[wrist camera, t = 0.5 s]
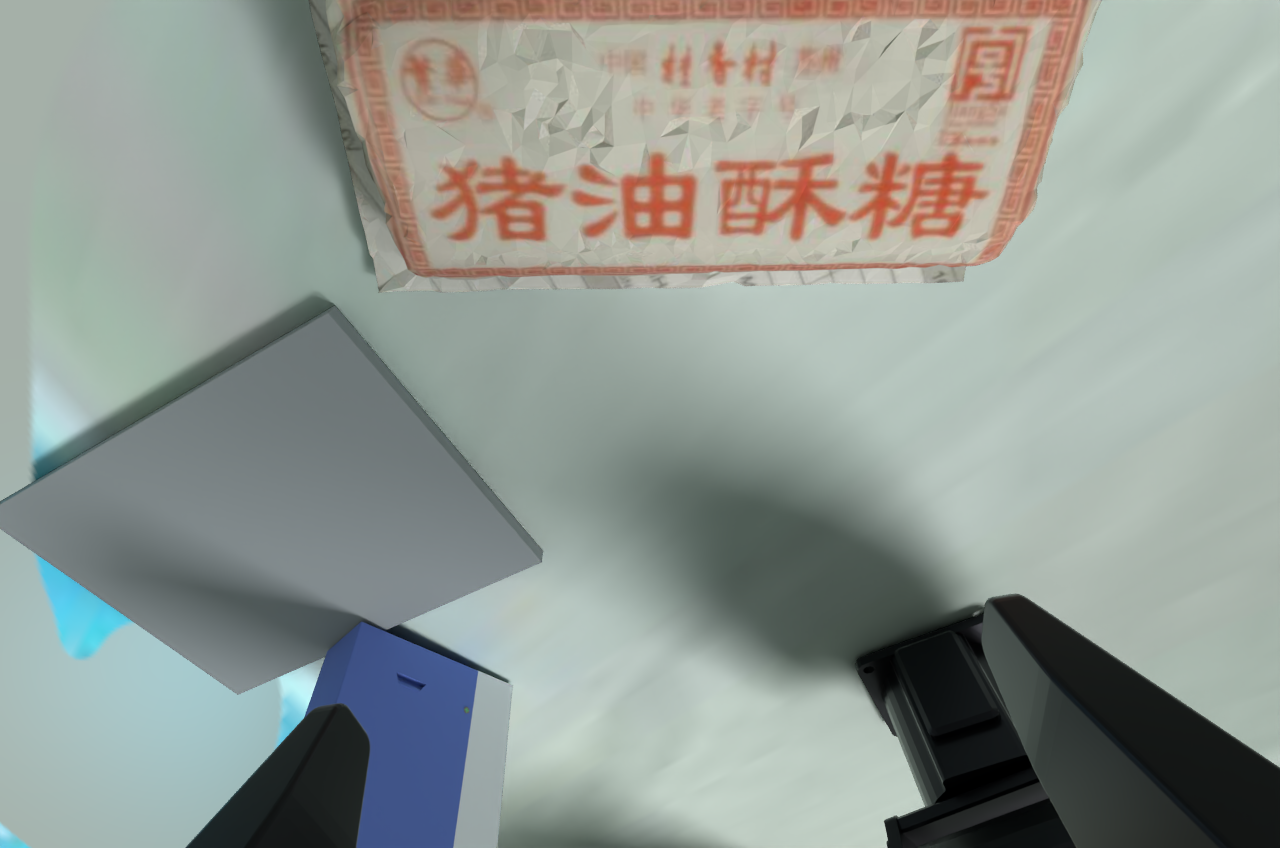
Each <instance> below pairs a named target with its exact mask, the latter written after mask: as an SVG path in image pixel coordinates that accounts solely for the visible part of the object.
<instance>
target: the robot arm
mask: <svg viewBox="0 0 1280 848" xmlns="http://www.w3.org/2000/svg"><path fill="white" fill-rule="evenodd" d="M855 665H856V669H857V671H858V674H859V676H860V677H861V679H862V681H863V683H864V684H865V686H866V688H867V690H868V692H869V693H870V695H871V697H872V699H873V700H874V702H875V704H876V706H877V708H878V709H879V711H880V713H881V715H882V716H883V718H884V720H885V722H886V724H887V725H888V727H889V729H890V731H891V732H892V734H893V735H894V736H897V737H898V739H899V741H900V744H901V747H902V749H903V752H904V754H905V757H906V759H907V762H908V764H909V767H910V769H911V772H912V774H913V777H914V779H915V782H916V785H917V787H918V790H919V792H920V795H921V797H922V800H923V802H924V805H925V807H924V808H921V809H919V810H916V811H913V812H911V813H908V814H906V815H903V816H900V817H898V816H893V817H891V818H888V819H886V820H884V823H885V827H886V832H887V837H888V841H887V847H888V848H1280V767H1278V766H1277V765H1275V764H1274V763H1272V762H1271V761H1269V760H1268V759H1266V758H1265V757H1263V756H1262V755H1260V754H1259V753H1257V752H1256V751H1254V750H1253V749H1251V748H1250V747H1248V746H1247V745H1245V744H1244V743H1242V742H1241V741H1239V740H1238V739H1236V738H1235V737H1233V736H1232V735H1230V734H1229V733H1227V732H1226V731H1224V730H1223V729H1221V728H1220V727H1218V726H1217V725H1215V724H1214V723H1212V722H1211V721H1209V720H1208V719H1206V718H1205V717H1203V716H1202V715H1201V714H1199V713H1198V712H1196V711H1195V710H1193V709H1192V708H1190V707H1189V706H1187V705H1186V704H1184V703H1183V702H1181V701H1180V700H1178V699H1177V698H1175V697H1174V696H1172V695H1171V694H1169V693H1168V692H1166V691H1165V690H1163V689H1162V688H1160V687H1159V686H1157V685H1156V684H1154V683H1153V682H1151V681H1150V680H1148V679H1147V678H1145V677H1144V676H1142V675H1141V674H1139V673H1138V672H1136V671H1135V670H1133V669H1132V668H1130V667H1129V666H1127V665H1126V664H1125V663H1123V662H1122V661H1120V660H1119V659H1117V658H1116V657H1114V656H1113V655H1111V654H1110V653H1108V652H1107V651H1105V650H1104V649H1102V648H1101V647H1099V646H1098V645H1096V644H1095V643H1093V642H1092V641H1090V640H1089V639H1087V638H1086V637H1084V636H1083V635H1081V634H1080V633H1078V632H1077V631H1075V630H1074V629H1072V628H1071V627H1069V626H1068V625H1066V624H1065V623H1063V622H1062V621H1060V620H1059V619H1057V618H1056V617H1054V616H1053V615H1051V614H1050V613H1048V612H1047V611H1046V610H1044V609H1043V608H1041V607H1040V606H1038V605H1037V604H1035V603H1034V602H1032V601H1031V600H1029V599H1028V598H1026V597H1024V596H1022V595H1019V594H1009V595H1002V596H996V597H991V598H989V599H988V600H987V601H986V603H985V607H984V614H981V615H979V616H976V617H973V618H970V619H967V620H964V621H962V622H959V623H956V624H953V625H950V626H948V627H945V628H942V629H939V630H936V631H933V632H931V633H928V634H925V635H922V636H919V637H917V638H914V639H911V640H908V641H905V642H902V643H900V644H897V645H894V646H891V647H888V648H885V649H883V650H880V651H877V652H874V653H871V654H869V655H866V656H863V657H861V658H859V659H858V660H857V661H856V663H855ZM369 758H370V740H369V737H368V735H367V733H366V731H365V730H364V728H363V727H362V726H361V724H360V723H359V721H358V720H357V718H356V717H355V716H354V714H353V713H352V711H351V710H350V709H349V707H348V706H347V705H345V704H343V703H337V704H330V705H324V706H319V707H317V708H315V709H313V710H312V711H311V712H310V713H308V714H307V716H306V717H305V718H304V719H303V720H302V721H301V722H300V723H299V724H298V725H297V726H296V728H295V729H294V730H293V731H292V732H291V733H290V734H289V735H288V736H287V737H286V738H285V740H284V741H283V742H282V743H281V744H280V745H279V746H278V747H277V748H276V749H275V750H274V752H273V753H272V754H271V755H270V756H269V757H268V758H267V759H266V760H265V761H264V762H263V764H262V765H261V766H260V767H259V768H258V769H257V770H256V771H255V772H254V773H253V775H252V776H251V777H250V778H249V779H248V780H247V781H246V782H245V783H244V784H243V785H242V786H241V788H240V789H239V790H238V791H237V792H236V793H235V794H234V795H233V796H232V797H231V799H230V800H229V801H228V802H227V803H226V804H225V805H224V806H223V807H222V809H220V811H219V812H218V813H217V814H216V815H215V816H214V817H213V818H212V819H211V820H210V821H209V823H208V824H207V825H206V826H205V827H204V828H203V829H202V830H201V831H200V832H199V834H197V836H196V837H195V838H194V839H193V840H192V841H191V842H190V843H189V844H188V845H187V847H186V848H356V847H357V840H358V834H359V827H360V820H361V813H362V806H363V799H364V792H365V785H366V778H367V771H368V764H369Z"/></svg>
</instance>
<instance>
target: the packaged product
mask: <svg viewBox="0 0 1280 848" xmlns="http://www.w3.org/2000/svg"><path fill="white" fill-rule="evenodd" d="M1101 1H1102V0H309V4H310V9H311V15H312V19H313V23H314V27H315V31H316V35H317V39H318V43H319V46H320V50H321V54H322V58H323V62H324V65H325V69H326V73H327V76H328V80H329V84H330V87H331V91H332V94H333V98H334V102H335V105H336V109H337V113H338V118H339V123H340V128H341V133H342V138H343V143H344V147H345V151H346V154H347V158H348V163H349V167H350V172H351V177H352V182H353V186H354V191H355V195H356V200H357V204H358V208H359V212H360V217H361V220H362V224H363V228H364V232H365V236H366V241H367V245H368V250H369V254H370V255H371V257H372V258H373V261H374V267H375V272H376V278H377V283H378V288H379V292H378V293H382V292H394V291H437V292H469V291H488V290H496V289H622V288H699V287H707V286H713V285H718V284H724V283H729V282H736V283H739V284H741V285H744V286H761V285H814V284H826V283H841V284H890V283H942V282H960V281H964V274H965V270H966V266H976V265H980V264H983V263H986V262H989V261H991V260H993V259H995V258H997V257H998V256H999V255H1000V254H1001V252H1002V251H1003V250H1004V248H1005V247H1006V246H1007V244H1008V243H1009V241H1010V240H1011V238H1012V236H1013V234H1014V232H1015V231H1016V229H1017V227H1018V226H1019V225H1020V224H1021V223H1022V222H1023V221H1024V220H1025V219H1026V218H1027V217H1028V215H1029V214H1030V213H1031V212H1032V211H1033V210H1034V207H1035V204H1036V200H1037V186H1038V184H1039V183H1040V182H1041V181H1042V175H1043V169H1044V164H1045V162H1046V158H1047V154H1048V150H1049V147H1050V144H1051V142H1052V136H1053V132H1054V129H1055V125H1056V122H1057V119H1058V116H1059V115H1060V113H1061V112H1062V111H1063V110H1064V108H1065V107H1066V106H1067V105H1068V103H1069V99H1070V96H1071V92H1072V89H1073V85H1074V82H1075V79H1076V77H1077V75H1078V73H1079V71H1080V69H1081V67H1082V65H1083V49H1084V46H1085V43H1086V40H1087V37H1088V35H1089V32H1090V29H1091V26H1092V23H1093V21H1094V18H1095V15H1096V12H1097V10H1098V8H1099V6H1100V3H1101Z"/></svg>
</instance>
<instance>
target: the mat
mask: <svg viewBox="0 0 1280 848" xmlns="http://www.w3.org/2000/svg"><path fill="white" fill-rule="evenodd" d="M0 529H1V530H3V531H4V532H6V533H7V534H8V535H10V536H11V537H13V538H14V539H16V540H17V541H18V542H20V543H21V544H23V545H24V546H26V547H27V548H28V549H30V550H31V551H33V552H34V553H36V554H37V555H38V556H40V557H41V558H43V559H44V560H46V561H47V562H48V563H50V564H51V565H53V566H54V567H56V568H57V569H58V570H60V571H61V572H63V573H64V574H66V575H67V576H69V577H70V578H71V579H73V580H74V581H76V582H77V583H79V584H80V585H81V586H83V587H84V588H86V589H87V590H89V591H90V592H91V593H93V594H94V595H96V596H97V597H99V598H100V599H101V600H103V601H104V602H106V603H107V604H109V605H110V606H111V607H113V608H114V609H116V610H117V611H119V612H120V613H121V614H123V615H124V616H126V617H127V618H129V619H130V620H132V621H133V622H134V623H136V624H137V625H139V626H140V627H142V628H143V629H145V630H146V631H147V632H149V633H150V634H152V635H153V636H154V637H156V638H157V639H159V640H160V641H162V642H163V643H164V644H166V645H167V646H169V647H170V648H172V649H173V650H175V651H176V652H178V653H179V654H180V655H182V656H183V657H184V658H186V659H187V660H189V661H190V662H192V663H193V664H195V665H196V666H197V667H199V668H200V669H202V670H203V671H205V672H206V673H207V674H209V675H210V676H212V677H213V678H215V679H216V680H217V681H219V682H220V683H222V684H223V685H225V686H226V687H228V688H229V689H230V690H232V691H233V692H235V693H237V695H238V694H241V693H243V692H245V691H248V690H250V689H252V688H254V687H257V686H259V685H261V684H263V683H266V682H268V681H270V680H273V679H275V678H277V677H280V676H282V675H284V674H287V673H289V672H291V671H293V670H296V669H298V668H300V667H303V666H305V665H307V664H309V663H312V662H314V661H316V660H319V659H321V658H323V657H326V654H327V651H328V650H329V649H331V648H332V647H333V646H334V645H335V644H336V643H337V642H339V641H340V640H341V639H342V638H343V637H344V636H345V635H347V634H348V633H349V632H350V631H351V630H352V629H353V628H355V627H356V626H357V625H358V624H359V623H360V622H364V623H366V624H369V625H371V626H373V627H376V628H378V629H380V630H383V631H385V630H387V629H390V628H392V627H394V626H397V625H399V624H401V623H403V622H406V621H408V620H410V619H413V618H415V617H417V616H419V615H422V614H424V613H426V612H429V611H431V610H433V609H435V608H438V607H440V606H442V605H445V604H447V603H449V602H451V601H454V600H456V599H458V598H461V597H463V596H465V595H468V594H470V593H472V592H474V591H477V590H479V589H481V588H484V587H486V586H488V585H490V584H493V583H495V582H497V581H500V580H502V579H504V578H506V577H509V576H511V575H513V574H516V573H518V572H520V571H522V570H525V569H527V568H529V567H532V566H534V565H536V564H538V563H541V562H542V555H543V551H542V550H541V549H540V547H539V546H538V545H537V544H536V543H535V541H534V540H533V539H532V538H531V537H530V536H529V534H528V533H527V532H526V531H525V530H524V528H523V527H522V526H521V525H520V524H519V523H518V521H517V520H516V519H515V518H514V517H513V515H512V514H511V513H510V512H509V511H508V510H507V508H506V507H505V506H504V505H503V504H502V502H501V501H500V500H499V499H498V498H497V496H496V495H495V494H494V493H493V492H492V491H491V489H490V488H489V487H488V486H487V485H486V483H485V482H484V481H483V480H482V479H481V478H480V476H479V475H478V474H477V473H476V472H475V470H474V469H473V468H472V467H471V466H470V465H469V463H468V462H467V461H466V460H465V459H464V457H463V456H462V455H461V454H460V453H459V452H458V450H457V449H456V448H455V447H454V446H453V444H452V443H451V442H450V441H449V440H448V439H447V437H446V436H445V435H444V434H443V433H442V431H441V430H440V429H439V428H438V427H437V426H436V424H435V423H434V422H433V421H432V420H431V418H430V417H429V416H428V415H427V414H426V413H425V411H424V410H423V409H422V408H421V407H420V405H419V404H418V403H417V402H416V401H415V400H414V398H413V397H412V396H411V395H410V394H409V392H408V391H407V390H406V389H405V388H404V387H403V385H402V384H401V383H400V382H399V381H398V379H397V378H396V377H395V376H394V375H393V374H392V372H391V371H390V370H389V369H388V368H387V366H386V365H385V364H384V363H383V362H382V360H381V359H380V358H379V357H378V356H377V355H376V353H375V352H374V351H373V350H372V349H371V347H370V346H369V345H368V344H367V343H366V342H365V340H364V339H363V338H362V337H361V336H360V334H359V333H358V332H357V331H356V330H355V329H354V327H353V326H352V325H351V324H350V323H349V321H348V320H347V319H346V318H345V317H344V316H343V314H342V313H341V312H340V311H339V310H338V308H337V307H336V306H333V307H331V308H330V309H328V310H326V311H325V312H323V313H321V314H319V315H318V316H316V317H314V318H313V319H311V320H309V321H307V322H306V323H304V324H302V325H301V326H299V327H297V328H295V329H294V330H292V331H290V332H289V333H287V334H285V335H284V336H282V337H280V338H278V339H277V340H275V341H273V342H272V343H270V344H268V345H266V346H265V347H263V348H261V349H260V350H258V351H256V352H255V353H253V354H251V355H249V356H248V357H246V358H244V359H243V360H241V361H239V362H237V363H236V364H234V365H232V366H231V367H229V368H227V369H225V370H224V371H222V372H220V373H219V374H217V375H215V376H214V377H212V378H210V379H208V380H207V381H205V382H203V383H202V384H200V385H198V386H196V387H195V388H193V389H191V390H190V391H188V392H186V393H184V394H183V395H181V396H179V397H178V398H176V399H174V400H173V401H171V402H169V403H167V404H166V405H164V406H162V407H161V408H159V409H157V410H155V411H154V412H152V413H150V414H149V415H147V416H145V417H144V418H142V419H140V420H138V421H137V422H135V423H133V424H132V425H130V426H128V427H126V428H125V429H123V430H121V431H120V432H118V433H116V434H114V435H113V436H111V437H109V438H108V439H106V440H104V441H103V442H101V443H99V444H97V445H96V446H94V447H92V448H91V449H89V450H87V451H85V452H84V453H82V454H80V455H79V456H77V457H75V458H74V459H72V460H70V461H68V462H67V463H65V464H63V465H62V466H60V467H58V468H56V469H55V470H53V471H51V472H50V473H48V474H46V475H44V476H43V477H41V478H39V479H38V480H36V481H34V482H33V483H31V484H29V485H27V486H26V487H24V488H22V489H21V490H19V491H18V492H15V493H14V494H12V495H10V496H9V497H7V498H5V499H3V500H2V501H0Z"/></svg>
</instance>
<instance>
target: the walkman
mask: <svg viewBox="0 0 1280 848" xmlns="http://www.w3.org/2000/svg"><path fill="white" fill-rule="evenodd" d="M512 688H513V685H511V684H508V683H506V682H504V681H501V680H499V679H497V678H494V677H492V676H490V675H487V674H485V673H483V672H480V671H477V670H475V669H472V668H470V667H468V666H465V665H463V664H461V663H458V662H456V661H453V660H451V659H449V658H446V657H444V656H442V655H439V654H437V653H435V652H432V651H430V650H428V649H425V648H423V647H420V646H418V645H416V644H413V643H411V642H409V641H406V640H404V639H402V638H399V637H397V636H394V635H392V634H390V633H387V632H385V631H383V630H380V629H378V628H376V627H373V626H371V625H369V624H366V623H364V622H360V623H359V624H358V625H357V626H356V627H355V628H353V629H352V630H351V631H350V632H349V633H348V634H347V635H345V636H344V637H343V638H342V639H341V640H340V641H339V642H337V643H336V644H335V645H334V646H333V647H332V648H331V649H329V650H328V651H327V654H326V657H325V660H324V663H323V665H322V668H321V671H320V674H319V677H318V680H317V683H316V686H315V688H314V691H313V694H312V697H311V700H310V703H309V706H308V709H307V711H306V714H305V717H306V716H307V714H308V713H310V712H311V711H312V710H313V709H315V708H317V707H319V706H324V705H330V704H337V703H343V704H345V705H347V706H348V707H349V709H350V710H351V711H352V713H353V714H354V716H355V717H356V718H357V720H358V721H359V723H360V724H361V726H362V727H363V728H364V730H365V731H366V733H367V735H368V737H369V740H370V758H369V764H368V771H367V778H366V785H365V792H364V799H363V806H362V813H361V820H360V827H359V834H358V840H357V847H356V848H497V846H498V835H499V825H500V814H501V804H502V793H503V783H504V772H505V761H506V751H507V740H508V730H509V719H510V709H511V698H512ZM305 717H304V718H305Z"/></svg>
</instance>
